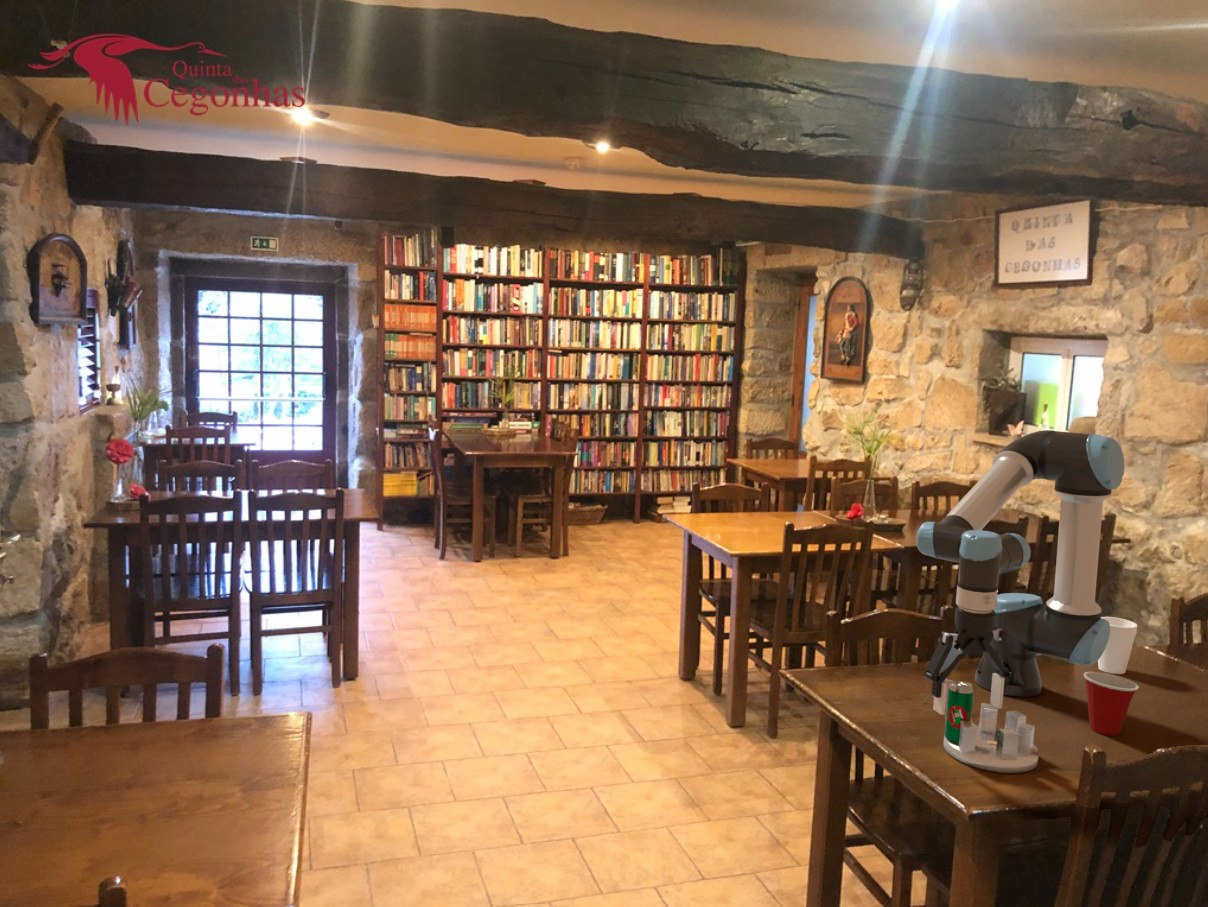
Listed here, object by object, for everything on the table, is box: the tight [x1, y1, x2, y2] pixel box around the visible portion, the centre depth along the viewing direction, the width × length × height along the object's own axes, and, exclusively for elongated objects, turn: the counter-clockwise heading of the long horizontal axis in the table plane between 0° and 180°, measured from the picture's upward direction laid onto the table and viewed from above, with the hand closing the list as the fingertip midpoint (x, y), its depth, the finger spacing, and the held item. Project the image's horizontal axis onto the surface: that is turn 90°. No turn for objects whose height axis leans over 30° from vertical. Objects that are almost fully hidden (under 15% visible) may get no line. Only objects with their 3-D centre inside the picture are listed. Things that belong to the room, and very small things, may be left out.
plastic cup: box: [1083, 671, 1140, 737], centre depth 202 cm, size 11×11×12 cm
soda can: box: [943, 680, 975, 744], centre depth 189 cm, size 5×5×12 cm
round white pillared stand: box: [943, 702, 1039, 774], centre depth 188 cm, size 18×18×8 cm
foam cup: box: [1097, 616, 1138, 675], centre depth 241 cm, size 10×9×13 cm
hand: (967, 709), depth 186 cm, fingers open, 13 cm apart
